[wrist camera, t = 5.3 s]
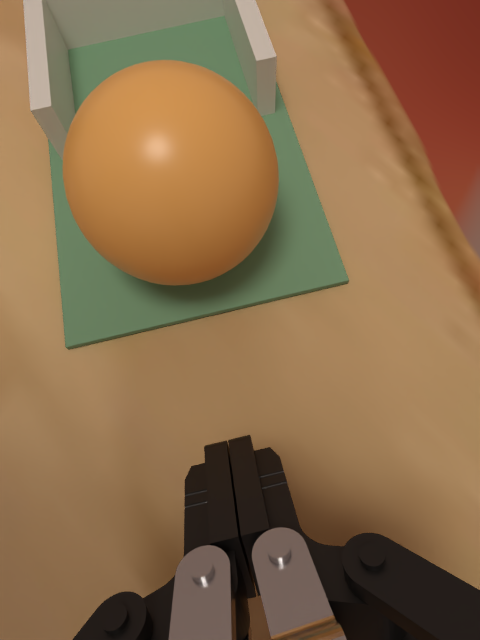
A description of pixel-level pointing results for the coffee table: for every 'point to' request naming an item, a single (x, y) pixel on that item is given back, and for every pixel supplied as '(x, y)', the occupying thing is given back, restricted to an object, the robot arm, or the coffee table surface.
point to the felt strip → (236, 284)
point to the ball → (170, 172)
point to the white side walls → (123, 21)
